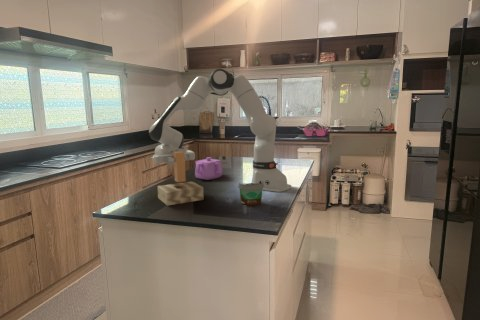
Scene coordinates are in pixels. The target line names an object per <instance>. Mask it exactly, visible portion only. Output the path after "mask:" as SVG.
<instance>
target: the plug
mask: <svg viewBox="0 0 480 320" xmlns="http://www.w3.org/2000/svg"><path fill="white" fill-rule="evenodd" d="M173 153H174V158H176V162H174V164H173V166H174V167H173V171H174V181H175V183H184V182H187V179H186V161H185V152H182V151H178V152H173Z"/></svg>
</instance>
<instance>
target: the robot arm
mask: <svg viewBox="0 0 480 320" xmlns="http://www.w3.org/2000/svg"><path fill="white" fill-rule="evenodd" d="M228 92H230V93H231V94H232V95H233V96H234V98H235V100H236V102H237V103H238V105H239V106H240V108H241V110H242V112H243V113H244V115H245V118H246V120H247V123H248V124H249V125H248V126H250V127H249V128H250V131H251V133H252V134H253V135H255V138H254V140H255V141H254V144H253V160H252V170H253V171H252V178H251V182H250V183H256V184H257V183H262V181H263V183H264V188H263V189H262V191H267V192H275V193H276V192H277V193H281V192H285V191H288V190H290V189H291V188H292V184H288V179H287V176H286V175H285V174H284V173H283V172H282V171H281V170H280V169H278V167H277V166H278V165H279V164H278V163H279V162H275V160H274V159H275V141H276V134H277V133H276V131H277V121H276V119H275V117H274V116H272V115H271V114H267V112H266V109H265V108H264V105H263V102H262V100H261V98H260V96H259V95H258V93H257V91H256V90H255V88H254V87H253V85H252V84H251V82H250V81H249V80H248V79H247V78H246V77H245V76H244V75H242V74H239V75H235V76H234V75H233V74H232V73H230V72H229V71H228V70H225V69H224V68H216V69H215V70H213V71H212V72H211V74H210V76H209V77H206V76H203V75H198V76H196V77H195V78H194V79H193V80H192V82H191V83H190V85H189V86H188V88H187V89H186V91H185V93H184V94H182V95H181V96H176V97H175V98H174V99H172V101H171V102H170V104H169V105H168V106H167V107H166V108H165V110H164V111H163V112H162V113H161V115H160V116H159V117H158V118H157V119H156V120H155V121H154V122H153V123H152V125H151V126H150V127H149V130H148V134H149V137H150V139H151V140H153V141H156V142H158V143H160V144H159V145H157V146H156V147H155V149H154V154H153V156H151V157H150V159H151V160H153V162H154V164H158V165H159V164H166V165H174V162H176V158H174V153H173V152H178V151H182V152H185V162H186V161H187V162H188V161H195V160H196V154H195V152H194V151H193V150H190V149H188V148H185V147H183V145H184V143H185V139H184V134H183V133H182V132H180V131H179V130H177V129H174V128H172V127H171V126H169V125H167V123H168V121H169V120H170V118H172V116H173V115H174V114H175V113H176V112H177V111H187V112H196V111H200V110H201V108H202V107H203V105H204V104H205V102H206V100H207V98H208V96H209V95H216V96H224V95H226V94H228Z"/></svg>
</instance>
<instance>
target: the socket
mask: <svg viewBox="0 0 480 320" xmlns="http://www.w3.org/2000/svg"><path fill="white" fill-rule="evenodd" d="M157 198H158V200H160V201H161V202H162V203H164V205H166V206H172V205H173V206H174V205H179V204H185V203H193V202H197V201H203V200H204V198H205V197H204V187H203V186H202V185H200V184H198V183H197V182H194V181H184V182H176V183H170V184H162V185H157Z"/></svg>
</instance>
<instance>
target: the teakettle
mask: <svg viewBox="0 0 480 320" xmlns="http://www.w3.org/2000/svg"><path fill="white" fill-rule="evenodd" d="M194 163H195V170H194V176H195V178H196V179H200V180H205V181H209V180H210V181H211V180H214V179H218V178H221V177H222V176H223V167H222V160H221V159H215V158H212V157H211V156H209V157H206V158H205V159H199V160H194Z"/></svg>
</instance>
